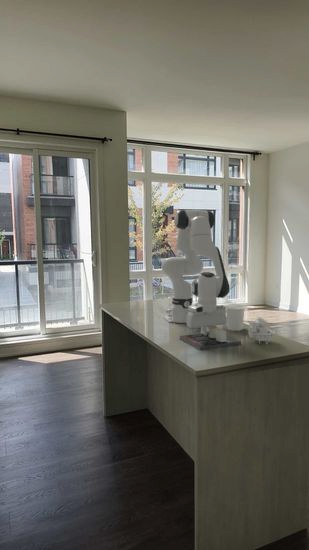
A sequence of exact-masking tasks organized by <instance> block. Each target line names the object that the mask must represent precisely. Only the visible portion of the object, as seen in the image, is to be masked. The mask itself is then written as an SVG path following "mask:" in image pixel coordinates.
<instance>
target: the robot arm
mask: <svg viewBox="0 0 309 550" xmlns="http://www.w3.org/2000/svg"><path fill="white" fill-rule="evenodd" d="M215 219H216V218H215V213H213V211H210V210H202V209H179V210H177V211H176V212H175V215H174V221H173V222H174V225H175V227H176V229H178V231H177V238H176V249H177V251H179V252H180V253H182V254H183V256H172V257H167V258H164V259H163V260H162V262H161V271H162V272H163V273H164V274H165V275H166V276H167V277H168V279H170V282H171V283H172V292H173V293H172V294H173V296H172V298H171V301H172V302H171V303H172V304H170V305H169V306H168V308H167V309H166V311H165V312H166V315H163V318H164V319H165V321H167V322H168V323H177V324H186V326H187V327H188V328H189V329H194V328H201V327H202V329H203V331H204V335H205V336H207V335H210V331H211V329H212V326H215V327H217V326H223V325H227V314H226V306H224V305H217V302H218V301H217V298H219V299H220V298H221V299H224V298H225V297H227V296H228V295H229V293H230V288H231V287H230V284H229V280H228V277H227V274H226V270H225V266H224V265H225V264H224V263H223V262H224V261H223V258H222V254H221V251H220V249H219V247H218V246H216V245H215V244H214V241H213V239H212V228H213V227H214V225H215ZM199 256H202V257H204V258H207V259H208V260H210V261H211V262H212V263H213V267H214V270H215V273H213V272H210V271H205V272H202V271H203V268H204V262H203V260H202V259H201V258H200V257H199ZM197 274H199V275H198V277H197V278H195V279H194V280H193V281H192V283H190V282H189V281H186V280H185V279H184V276H189V275H190V276H194V275H197ZM192 295H194V296H195V297H197V302H196V303H194V304H193V296H192ZM206 326H207V327H208V329H207V331H206Z"/></svg>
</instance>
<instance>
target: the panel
mask: <svg viewBox="0 0 309 550" xmlns="http://www.w3.org/2000/svg"><path fill="white" fill-rule="evenodd" d="M179 340H181V341H182V342H184V343H186V344H188V345H190V346H192V347H193V348H195V349H197V350H199V351H203V350H204V351H205V350H210V348H212V349H218V347H219V348H225V347H233V346H240V345H242V341H241V340H239V339H237V338H234V337H231V336H229V335H227V334H226V342H219V341H217V340H216V338H211V337H209V336H208V335H207V336H205V335H204V334H202V333H201V332H200V333H194V334H193V333H192V334H186V335H180V336H179Z"/></svg>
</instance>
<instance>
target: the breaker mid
mask: <svg viewBox="0 0 309 550" xmlns="http://www.w3.org/2000/svg"><path fill="white" fill-rule="evenodd" d="M217 330H219V328H218V327H217V326H212V329H211V331H210V335H208V336H209V337H211V338H216V331H217Z"/></svg>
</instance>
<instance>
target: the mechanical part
mask: <svg viewBox="0 0 309 550" xmlns="http://www.w3.org/2000/svg"><path fill="white" fill-rule="evenodd" d="M271 328H272V327H271V325H268V321H267V320H266V319H264V318H262V317H260V316H258V317H257V318H256V319H255V320H254V321H253V320H250V321H249V324H248V338H249V339H255V342H256V343H258V344H259V345H260V344H261V342H265V345H268V343H269V341H271V340H272V337H275V336H276V332H275V331H274V330H272V329H271Z"/></svg>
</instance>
